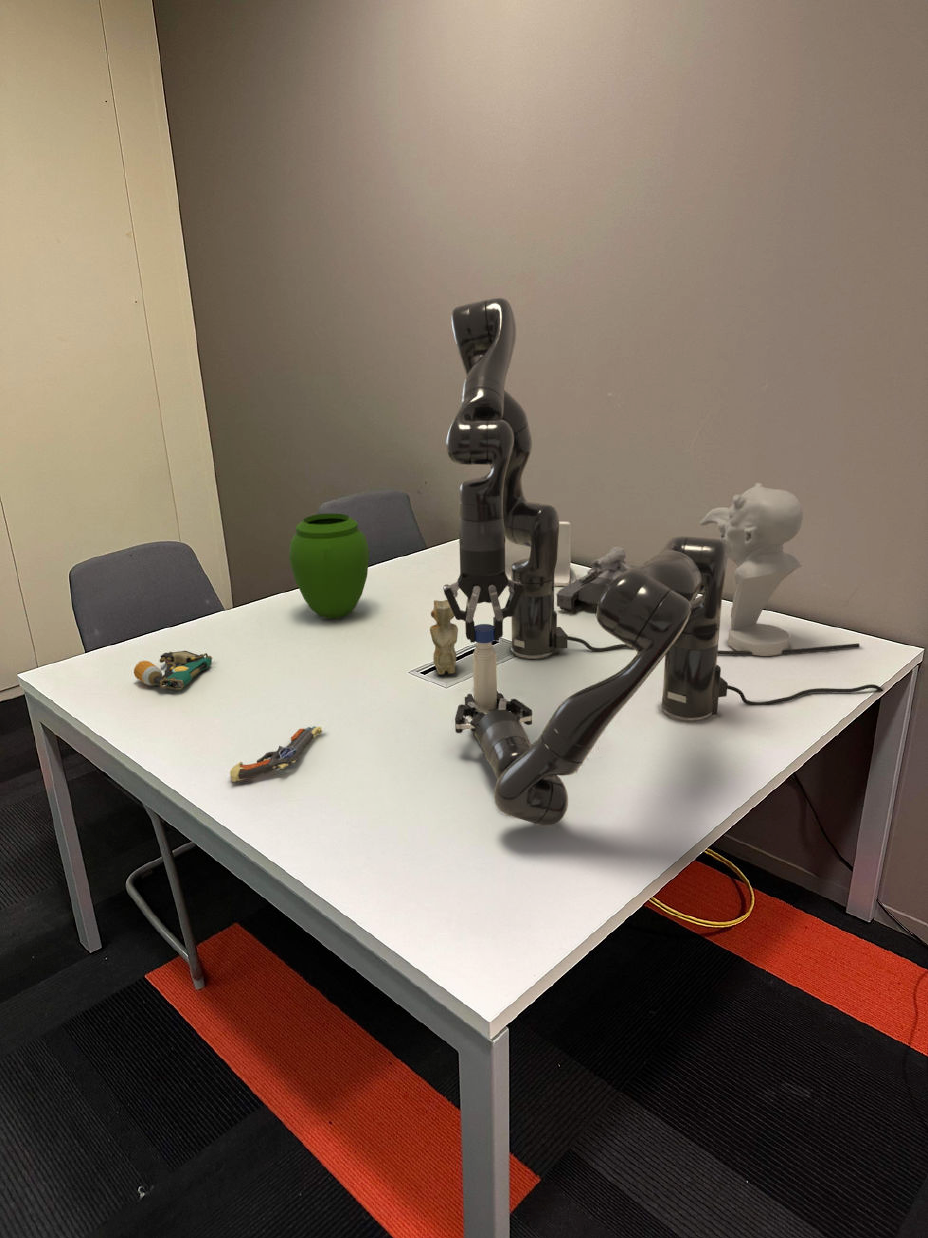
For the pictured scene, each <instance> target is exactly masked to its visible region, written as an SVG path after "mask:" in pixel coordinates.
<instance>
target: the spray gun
mask: <svg viewBox="0 0 928 1238" xmlns="http://www.w3.org/2000/svg"><path fill="white" fill-rule="evenodd" d="M212 660H213V657H212V656H211V655H208V653H207V652H205V653H201V654H197V653H194V652H192V651H191V652H190V651H188V650H180V651H169V652H164V653H162V654H161V655H160V658H159V660H158V662H159V663H161V664H163V663H165V664H166V668H165V670H163V672H164V674H163V673H162V669H160V668H159V666H157V665H156V664H154V663H152V662H151V661H149V660H141V661H139V662H138V663H136V665H135V666H134V668H133V675H134V677H135V678H136V679H137V680H139V681H140V682H142V683H143V684H145V685H147V686H155V685H157V686H158V687H160V688H161V689H171V690H172V689H173V690H182V689H184V687H185V686H186V685H188V684H189V683H190V682H191V681H192V679H193V678H195V677H196V676H197V675H198V674H200V673H201V672H202V671H203V670H206V669H208V668H209V667H210V666H211V665H212V662H213V661H212ZM178 663H179V664H181V665H179V666H176V665H177V664H178Z"/></svg>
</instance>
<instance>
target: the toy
mask: <svg viewBox="0 0 928 1238" xmlns="http://www.w3.org/2000/svg"><path fill="white" fill-rule="evenodd" d="M626 557H627V556H626V551H625V549H624V548H622V547H621V546H614V547H612V548H611V549H610V550H609V552H608V553H607V554H605V555H604V556H601V557H599V558H598V559H597V557H596V558H594V559H593V560H592V561H590V562H589V563H590V564H591V565H592V567H591V568H590V569H589V570H587V573H586V575H584V576H582V577H580V578H578V579H577V580H575V581H573V582H570V583H569V585H567V586H563V587H562V588H560V589H559V590H558V591H557V592H556V607H558V608H559V609H560V610H562V611H566V612H572V613H575V612H577V611H579V610H581V609H582V608H585V607H586V606H588V605H592V606H598V603H599V600H600V598H601V596H602V594H603V593H604V591H605V590H606V588H607V587H608V586H609V585H610V583H611V582H612V581H613V580H614V579H615V578H617V577H618V576H619V575H620V574H622V573H623V572H625V571H626V570H628V569H631V568H634V567H637V566H635V565H629V564H628V563H627V562H626V561H625V559H626Z"/></svg>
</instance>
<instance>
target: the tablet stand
mask: <svg viewBox="0 0 928 1238" xmlns="http://www.w3.org/2000/svg"><path fill="white" fill-rule="evenodd" d="M530 551H531V547H528V546H523V545H518V544H514V543H511V542H510V541H508V540H507V538H506V542H505V573H506V576H507V578H508V579H509V580H511V567H512V565H513V563H515V562H516V561H519V560H522V559H526V558H530ZM571 560H572V558H571V522H569V521H559V538H558V555H557V563H556V567H555V572H554V587H556V586H557V587H566V586H567V585H569V584H570V580H571V579H570V578H571V565H572V564H571Z"/></svg>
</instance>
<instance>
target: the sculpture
mask: <svg viewBox="0 0 928 1238" xmlns="http://www.w3.org/2000/svg"><path fill="white" fill-rule="evenodd" d="M430 617H431V618H432V619H433V620H434V621H435V622H436V623H435V624H433V625H431V626H429V633H430V636H431V640H432V641H431V642H432V643H433V645H434V648H435V649H434V652H433V656H432V657H433V659H432V660H433V665H434V667H435V668H436V671H437V674H438V675H445V674H446V672H447V673H448V674H455V673H456V666H457V665H456V663H457V652H456V649H455V644H456V643H457V642H458V637H459V635H458V634H459V627H458V626H457V624H455V623H453V622H451V621H452V620H453V619H454V618H455V616H454V614H453V611H452V609H451V607H450V605H449V602H448V600H447V599H445V600H433V610H431V612H430Z"/></svg>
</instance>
